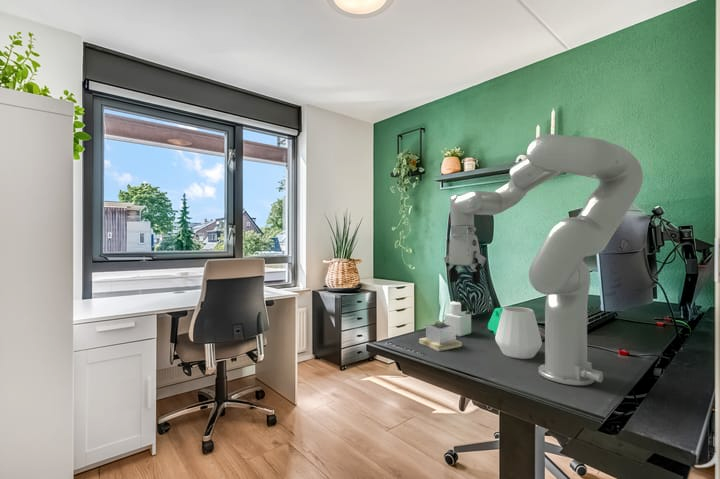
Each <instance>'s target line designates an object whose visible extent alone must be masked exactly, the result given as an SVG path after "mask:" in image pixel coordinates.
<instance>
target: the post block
mask: <svg viewBox="0 0 720 479" xmlns="http://www.w3.org/2000/svg"><path fill="white" fill-rule="evenodd" d="M434 323H435V327H438V328H444V327H445V322H443V321H435V322H434ZM418 343H419V344H421V345H423V346H425V347H427V348H430V349H432V350H435V351H437V352H441V351H446V350H450V349H455V348H460V347H462V344H463V343H462V341H460V340H457V339H456V342H451V343H446V344H441V345H439V344H437V343H434V342H432V341H429V340H426V337H422V338H421V337H420V338H419V339H418Z"/></svg>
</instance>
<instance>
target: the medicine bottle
mask: <svg viewBox="0 0 720 479" xmlns="http://www.w3.org/2000/svg"><path fill="white" fill-rule="evenodd" d="M444 323H445V324H449V325H452V326H455V327H456V336H457V337H464V336H466V335H471V333H472V314H470V313H467V303H466V302H465V301H461V300H453V301H450V302H449V313H445V314H444Z"/></svg>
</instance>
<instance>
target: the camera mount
mask: <svg viewBox="0 0 720 479" xmlns="http://www.w3.org/2000/svg"><path fill="white" fill-rule="evenodd" d="M503 308H504V307H496V308H494V310H493V312H492V314H491V317H490V319H489V321H488V324H487V330H490V331H493V334H494V335H496V332H497V329H498V325H499V321H500V318H501V314H502V310H503Z"/></svg>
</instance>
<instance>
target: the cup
mask: <svg viewBox="0 0 720 479" xmlns="http://www.w3.org/2000/svg"><path fill="white" fill-rule="evenodd" d="M502 308H503V310H502V314H501V318H500V321H499V325H498V329H497V332H496V334H495V337H494V339H495V342H496V344H497V345H498V348H499V349H500V351H501V352H502V354H503V355H505V356H506V357H510V358H515V359H521V360H526V359H527V360H528V359H533V358H534V357H536V355H537V353H538V352H539V350H540V349H541V347H542V344H543V340H542V336H541V333H540V329H539V326H538V322H537V318H536V314H535V311H534V309H531V308H529V307H521V306H504V307H502Z"/></svg>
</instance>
